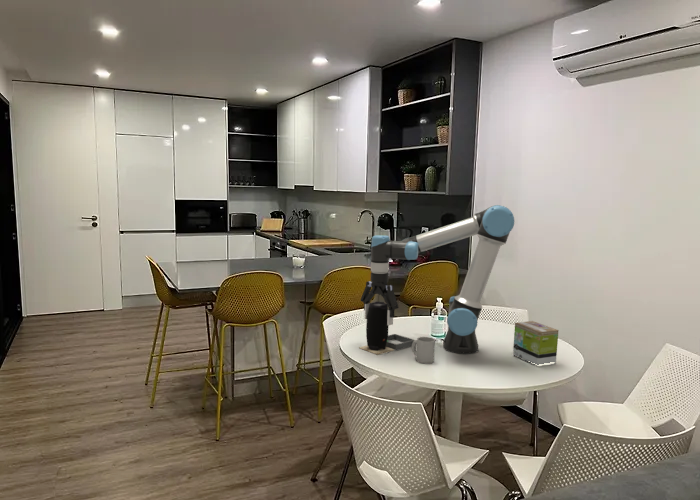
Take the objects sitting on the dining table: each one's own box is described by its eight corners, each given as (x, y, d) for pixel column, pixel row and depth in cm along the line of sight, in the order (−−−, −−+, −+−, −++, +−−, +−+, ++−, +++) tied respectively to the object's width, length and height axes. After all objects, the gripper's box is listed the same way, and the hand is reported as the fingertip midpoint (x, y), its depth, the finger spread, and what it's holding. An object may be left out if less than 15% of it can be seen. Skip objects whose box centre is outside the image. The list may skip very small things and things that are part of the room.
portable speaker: (390, 350, 218) (392, 305, 215) (369, 351, 215) (370, 305, 213) (383, 344, 226) (385, 300, 224) (363, 345, 223) (364, 301, 221)
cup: (427, 365, 202) (429, 343, 201) (406, 359, 209) (407, 337, 208) (437, 361, 208) (438, 339, 207) (416, 355, 214) (417, 334, 213)
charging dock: (414, 345, 228) (415, 339, 228) (396, 350, 220) (396, 343, 220) (394, 339, 237) (395, 332, 237) (375, 343, 229) (376, 337, 228)
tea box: (511, 355, 218) (514, 321, 216) (530, 353, 222) (532, 320, 220) (537, 367, 204) (540, 331, 203) (556, 364, 208) (559, 329, 207)
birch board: (393, 350, 220) (393, 349, 220) (377, 354, 213) (377, 353, 213) (375, 344, 228) (375, 343, 228) (359, 348, 221) (359, 347, 221)
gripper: (407, 275, 210) (406, 326, 212) (365, 267, 228) (364, 314, 231) (395, 276, 205) (393, 329, 207) (353, 269, 223) (352, 317, 226)
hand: (378, 321), depth 219 cm, fingers open, 13 cm apart
